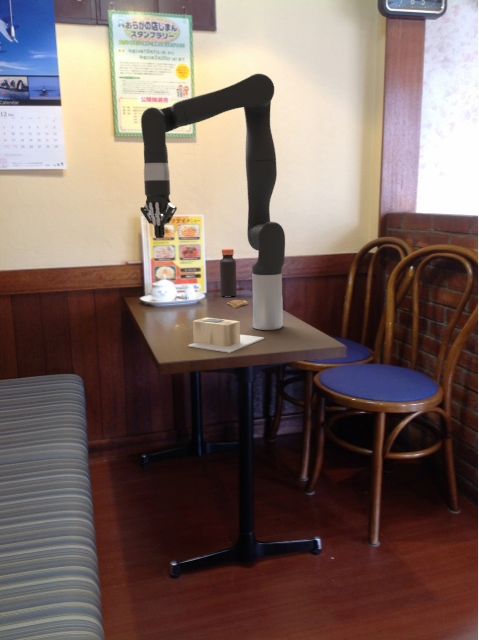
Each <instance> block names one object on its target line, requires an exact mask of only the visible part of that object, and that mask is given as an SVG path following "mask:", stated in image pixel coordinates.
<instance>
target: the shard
mask: <svg viewBox="0 0 479 640" xmlns="http://www.w3.org/2000/svg"><path fill="white" fill-rule="evenodd" d="M226 303H227V305H228V304H229V305H228V306H231V307H232V308H234V309H239V308H240V307H243V306H246V305H248V304H250V302H249V301H247V300H242V299H234V300H230V301H228V302H226Z"/></svg>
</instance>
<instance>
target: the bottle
mask: <svg viewBox="0 0 479 640" xmlns="http://www.w3.org/2000/svg"><path fill="white" fill-rule="evenodd" d="M221 256H222V258H221V260H220V261H219V275H220V280H219V281H220V296H221V297H222V296H235V297H237V296H238V295H237V294H238V293H237V261H236V259H235V258H234V248H222V249H221Z"/></svg>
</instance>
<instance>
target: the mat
mask: <svg viewBox="0 0 479 640" xmlns="http://www.w3.org/2000/svg"><path fill="white" fill-rule="evenodd" d="M264 339H265V337H263V336H255V335H248V334H247V335H246V334H241V333H240V342H239V343H237V344H234V345H231V346H229V347H227V346H220V345H213V344H206V343H200V342H193V343H190V344H188V345H187V347H190V348H196V349H201V350H209V351H216V352H222V353H228V354H230V353H233V352H235V351H238V350H240V349H243V348H245V347H247V346H250V345H252V344H255V343H257V342H259V341H262V340H264Z"/></svg>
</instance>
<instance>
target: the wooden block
mask: <svg viewBox="0 0 479 640" xmlns="http://www.w3.org/2000/svg"><path fill="white" fill-rule="evenodd" d="M192 332H193V335H192V337H193V343H196V342H200V343H206V344H213V345H220V346H227V347H229V346H231V345H234V344H237V343H239V342H240V334H241V321H240V320H239V321H238V320H232V319H222V318H213V317H202V318H199V319H195V320H192Z"/></svg>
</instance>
